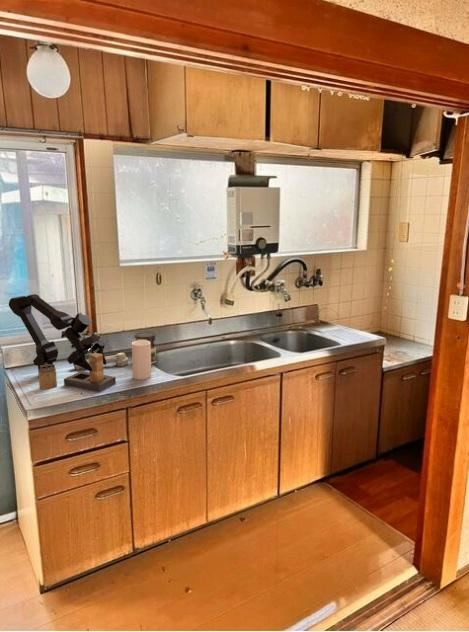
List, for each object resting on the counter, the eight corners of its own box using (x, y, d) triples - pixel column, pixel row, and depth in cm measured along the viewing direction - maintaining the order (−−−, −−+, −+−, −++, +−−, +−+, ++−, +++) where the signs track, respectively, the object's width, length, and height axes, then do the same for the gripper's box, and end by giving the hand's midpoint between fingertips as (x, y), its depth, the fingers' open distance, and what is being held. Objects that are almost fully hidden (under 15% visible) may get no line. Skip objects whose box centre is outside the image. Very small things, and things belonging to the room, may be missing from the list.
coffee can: (154, 357, 238) (154, 331, 235) (157, 363, 228) (156, 336, 225) (134, 359, 235) (133, 332, 232) (136, 365, 225) (135, 337, 222)
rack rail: (64, 385, 198) (63, 378, 198) (81, 377, 208) (81, 371, 208) (99, 392, 192) (99, 385, 191) (115, 383, 202) (115, 377, 201)
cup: (132, 379, 206) (131, 345, 203) (133, 373, 214) (132, 340, 211) (151, 379, 207) (150, 344, 204) (151, 373, 215) (150, 339, 212)
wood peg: (90, 386, 198) (88, 355, 194) (96, 383, 201) (94, 352, 198) (98, 388, 196) (96, 356, 193) (104, 385, 200) (102, 354, 197)
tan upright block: (56, 384, 200) (54, 362, 197) (58, 387, 196) (56, 364, 194) (38, 387, 196) (36, 364, 194) (40, 390, 193) (38, 367, 191)
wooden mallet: (73, 360, 220) (125, 348, 228) (75, 373, 221) (127, 361, 230) (73, 364, 215) (127, 351, 223) (76, 377, 217) (129, 364, 225)
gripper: (71, 332, 186) (94, 362, 184) (100, 323, 203) (122, 350, 201) (57, 349, 191) (80, 378, 189) (87, 338, 208) (108, 365, 206)
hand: (99, 367), depth 196 cm, fingers open, 9 cm apart
